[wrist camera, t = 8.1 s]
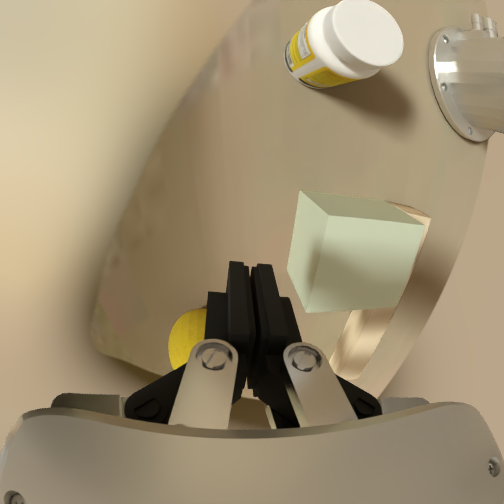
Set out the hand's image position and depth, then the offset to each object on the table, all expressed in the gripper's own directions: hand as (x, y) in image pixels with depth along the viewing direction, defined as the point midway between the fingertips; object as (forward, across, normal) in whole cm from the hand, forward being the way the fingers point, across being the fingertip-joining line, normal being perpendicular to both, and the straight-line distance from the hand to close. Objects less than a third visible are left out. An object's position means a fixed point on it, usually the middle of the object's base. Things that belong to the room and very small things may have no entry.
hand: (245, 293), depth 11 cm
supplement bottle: (+11, -4, -12) cm, 17 cm away
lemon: (+10, +2, +10) cm, 15 cm away
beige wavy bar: (+11, -14, +8) cm, 20 cm away
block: (+11, -9, +2) cm, 14 cm away
